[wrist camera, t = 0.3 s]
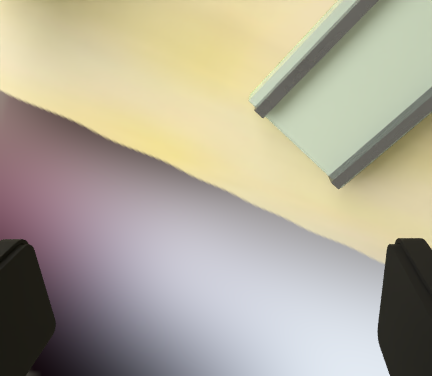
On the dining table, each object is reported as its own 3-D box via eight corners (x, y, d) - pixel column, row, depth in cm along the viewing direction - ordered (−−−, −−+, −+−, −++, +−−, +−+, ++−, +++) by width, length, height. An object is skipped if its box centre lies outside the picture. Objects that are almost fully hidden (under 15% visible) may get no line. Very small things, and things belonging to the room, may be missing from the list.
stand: (409, -76, 31) (431, -90, 27) (501, 33, 33) (534, 36, 29) (249, 94, 38) (248, 104, 33) (336, 176, 40) (344, 194, 36)
